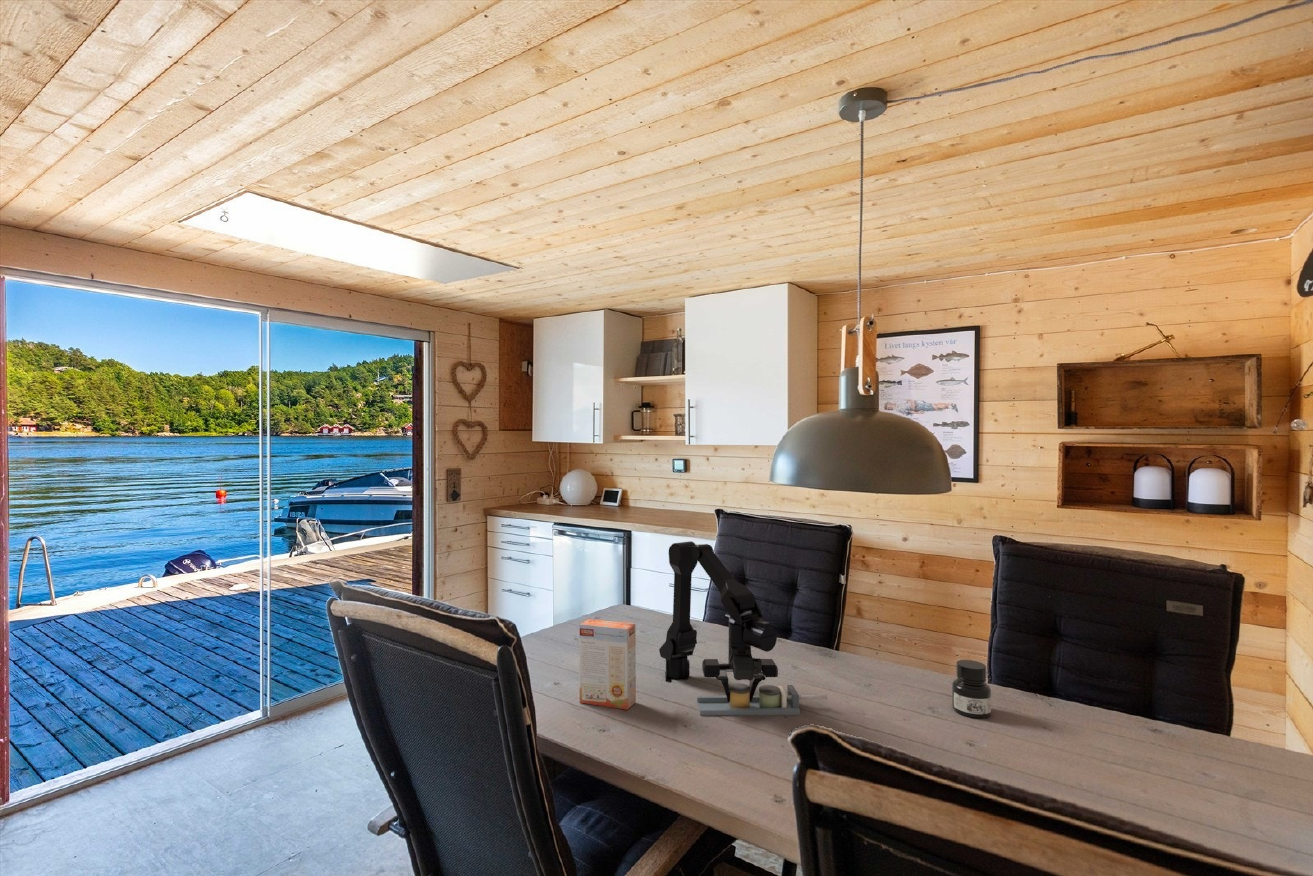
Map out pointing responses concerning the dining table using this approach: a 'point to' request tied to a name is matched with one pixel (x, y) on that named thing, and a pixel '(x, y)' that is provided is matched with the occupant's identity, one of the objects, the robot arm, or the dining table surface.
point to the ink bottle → (971, 690)
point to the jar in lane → (769, 696)
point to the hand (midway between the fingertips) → (739, 701)
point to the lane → (721, 707)
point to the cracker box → (607, 663)
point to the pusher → (801, 697)
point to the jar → (739, 695)
